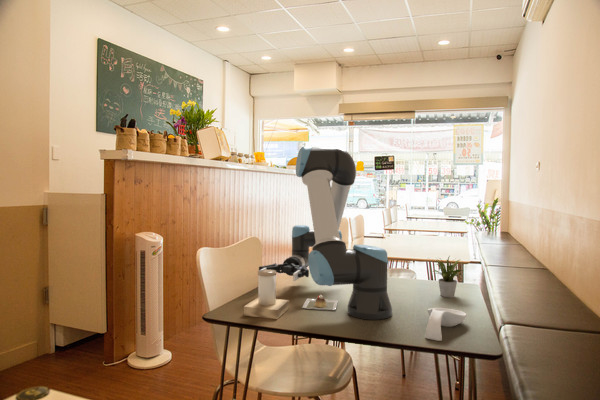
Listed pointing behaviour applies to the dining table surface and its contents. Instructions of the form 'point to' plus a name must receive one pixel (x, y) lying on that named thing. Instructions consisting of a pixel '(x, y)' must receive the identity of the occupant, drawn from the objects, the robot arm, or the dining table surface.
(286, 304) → the base
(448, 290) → the house plant
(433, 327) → the spoon rest
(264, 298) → the canister
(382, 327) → the dining table surface
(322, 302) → the dessert
